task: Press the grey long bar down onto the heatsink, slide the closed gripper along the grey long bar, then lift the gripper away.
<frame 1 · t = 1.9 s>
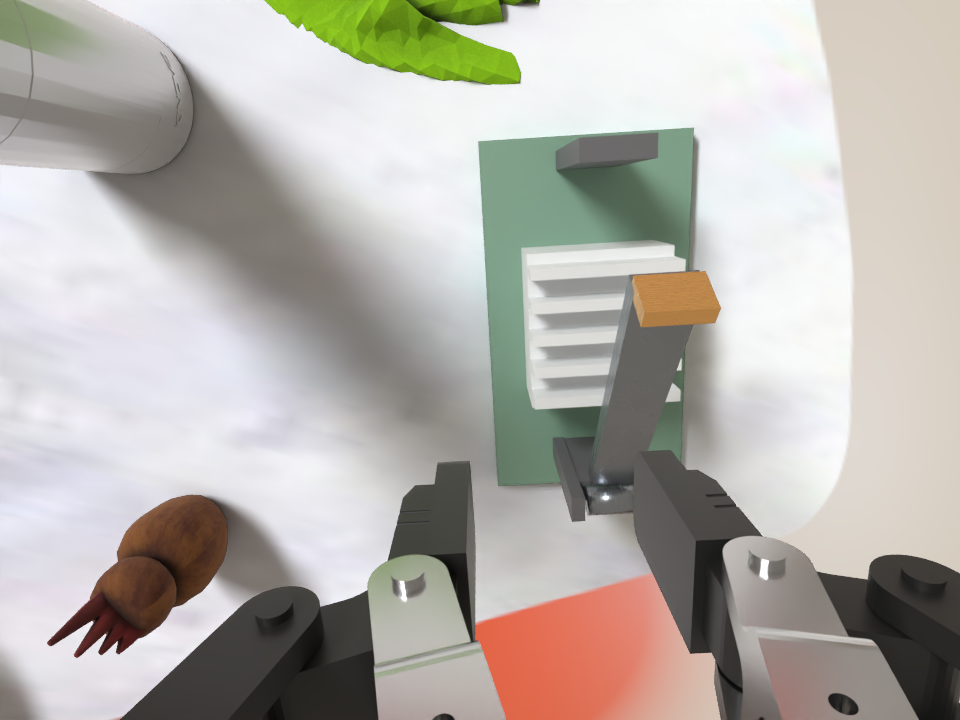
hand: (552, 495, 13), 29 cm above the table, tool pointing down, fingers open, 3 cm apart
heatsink: (585, 326, 42), on the table
wooden figurine: (202, 517, 46), on the table
grey long bar: (634, 421, 29), point 14 cm above the table, hinge at 35.0°
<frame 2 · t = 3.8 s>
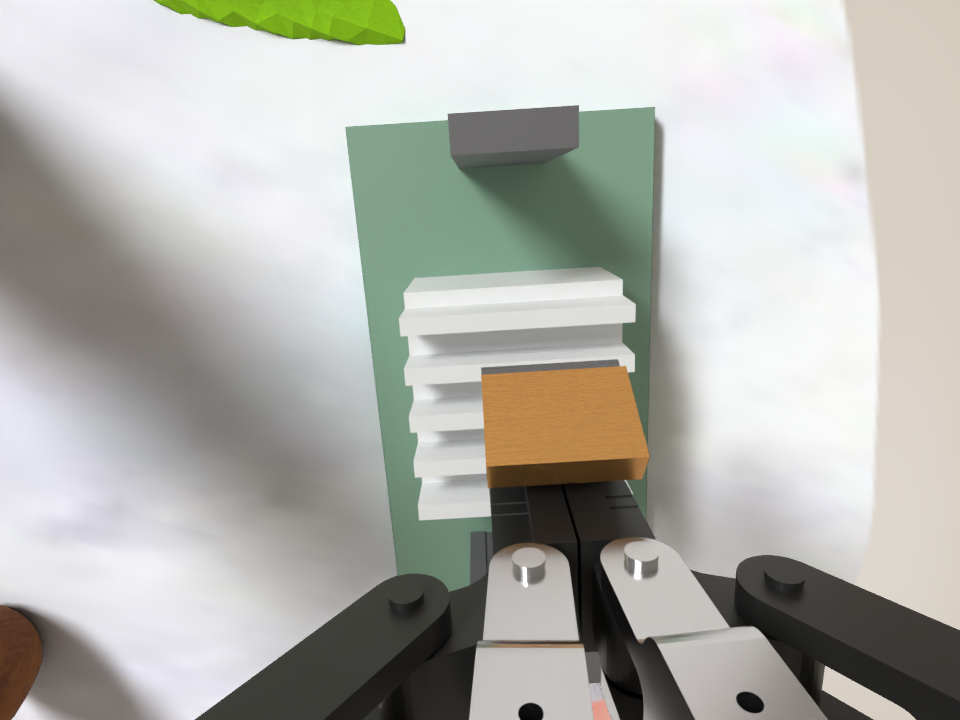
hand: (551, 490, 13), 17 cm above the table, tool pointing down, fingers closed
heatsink: (511, 382, 30), on the table
wooden figurine: (12, 630, 35), on the table
grey long bar: (540, 576, 18), point 14 cm above the table, hinge at 34.5°, touching gripper
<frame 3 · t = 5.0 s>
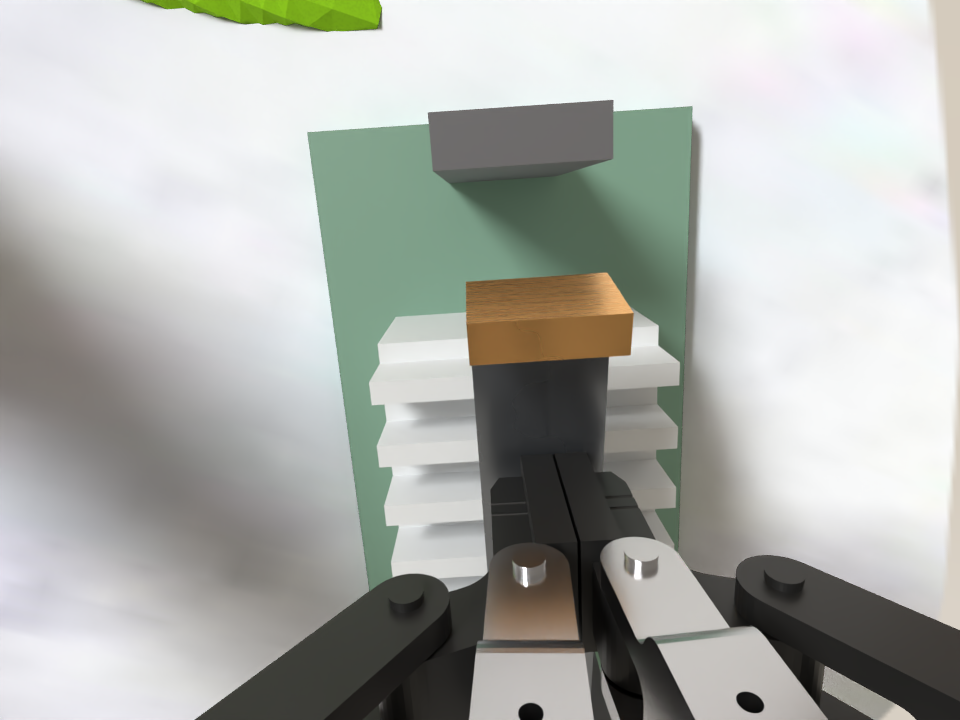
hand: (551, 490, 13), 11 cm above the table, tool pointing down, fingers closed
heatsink: (514, 439, 25), on the table
grey long bar: (544, 624, 15), point 11 cm above the table, hinge at 12.8°, touching gripper
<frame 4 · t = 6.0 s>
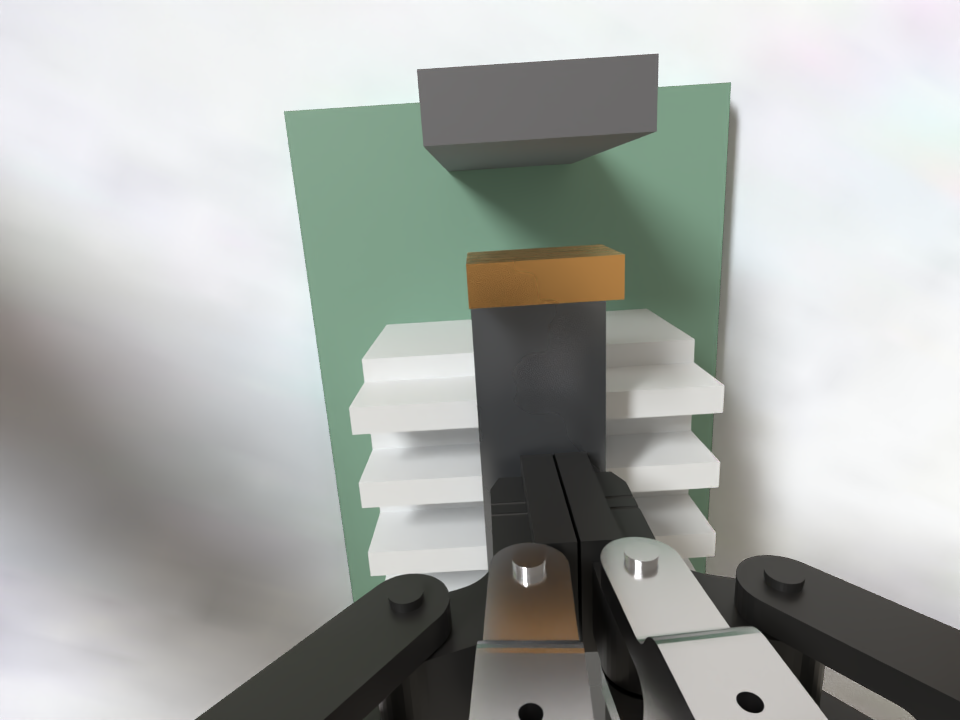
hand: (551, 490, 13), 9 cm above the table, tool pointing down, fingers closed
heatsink: (521, 462, 22), on the table
grey long bar: (550, 642, 14), point 9 cm above the table, hinge at 0.9°, touching gripper
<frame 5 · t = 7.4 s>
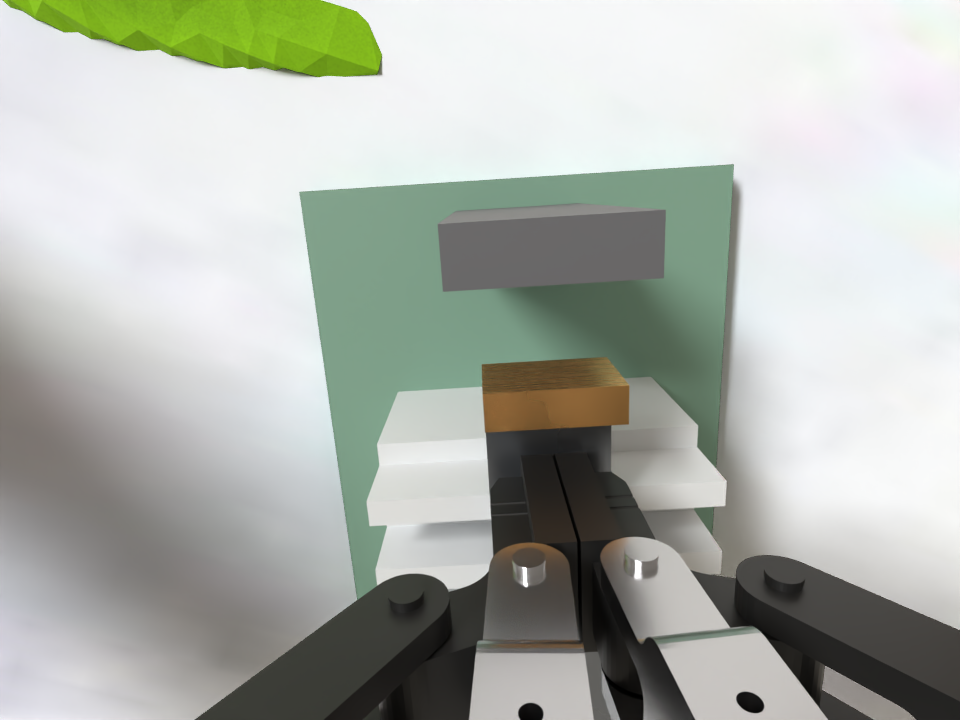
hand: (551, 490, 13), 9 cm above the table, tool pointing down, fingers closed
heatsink: (528, 517, 23), on the table
grey long bar: (558, 719, 15), point 9 cm above the table, hinge at 0.0°, touching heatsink
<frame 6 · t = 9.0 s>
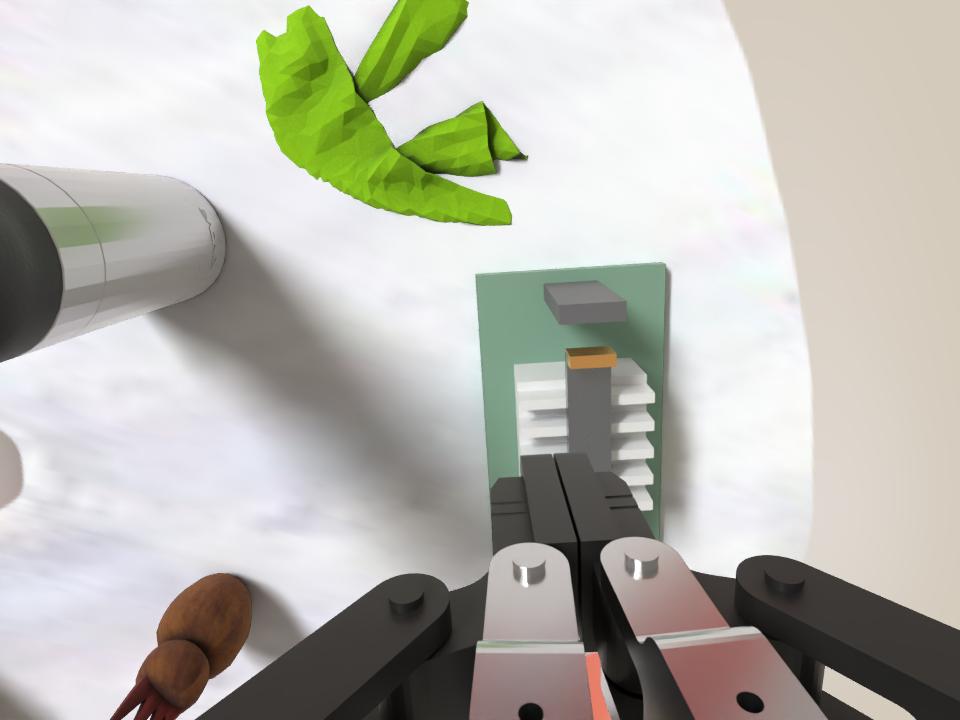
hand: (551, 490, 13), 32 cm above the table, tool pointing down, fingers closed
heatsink: (571, 428, 47), on the table
wooden figurine: (228, 591, 51), on the table
grey long bar: (591, 485, 38), point 9 cm above the table, hinge at 0.0°, touching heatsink
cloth: (422, 107, 41), on the table
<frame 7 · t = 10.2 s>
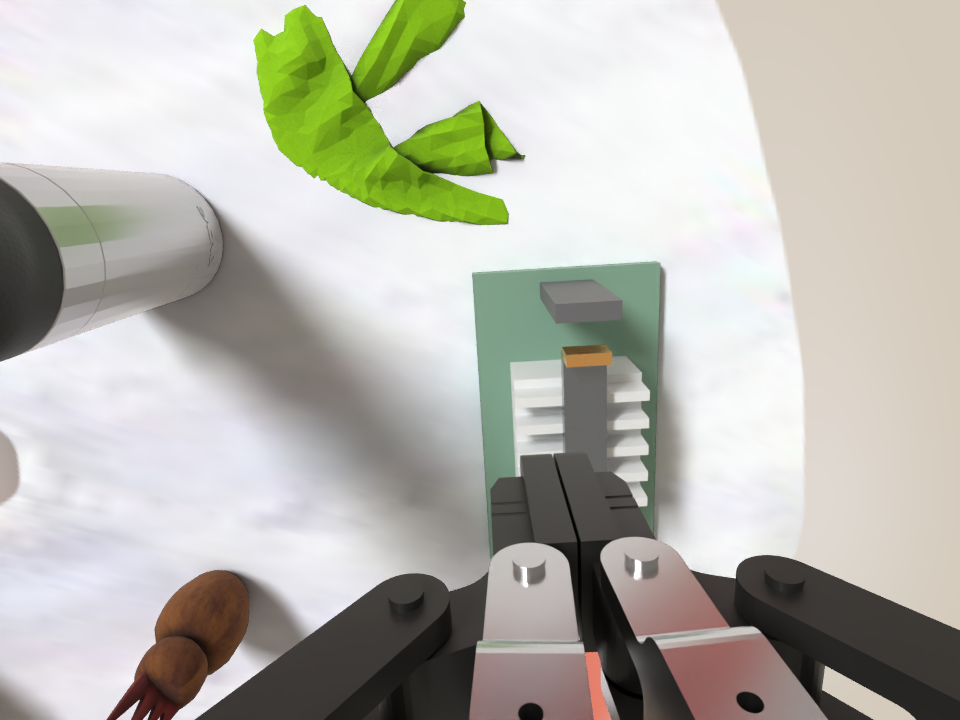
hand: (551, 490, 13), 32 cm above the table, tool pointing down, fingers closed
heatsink: (567, 425, 47), on the table
wooden figurine: (225, 588, 52), on the table
grey long bar: (586, 482, 39), point 9 cm above the table, hinge at 0.0°, touching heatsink
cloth: (419, 106, 41), on the table
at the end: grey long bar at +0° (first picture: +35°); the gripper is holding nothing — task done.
